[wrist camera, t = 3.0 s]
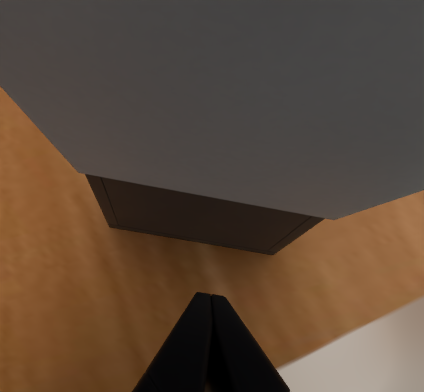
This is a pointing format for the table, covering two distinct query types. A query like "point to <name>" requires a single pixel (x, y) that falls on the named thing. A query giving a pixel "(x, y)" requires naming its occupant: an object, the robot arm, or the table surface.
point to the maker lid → (228, 95)
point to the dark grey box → (197, 216)
